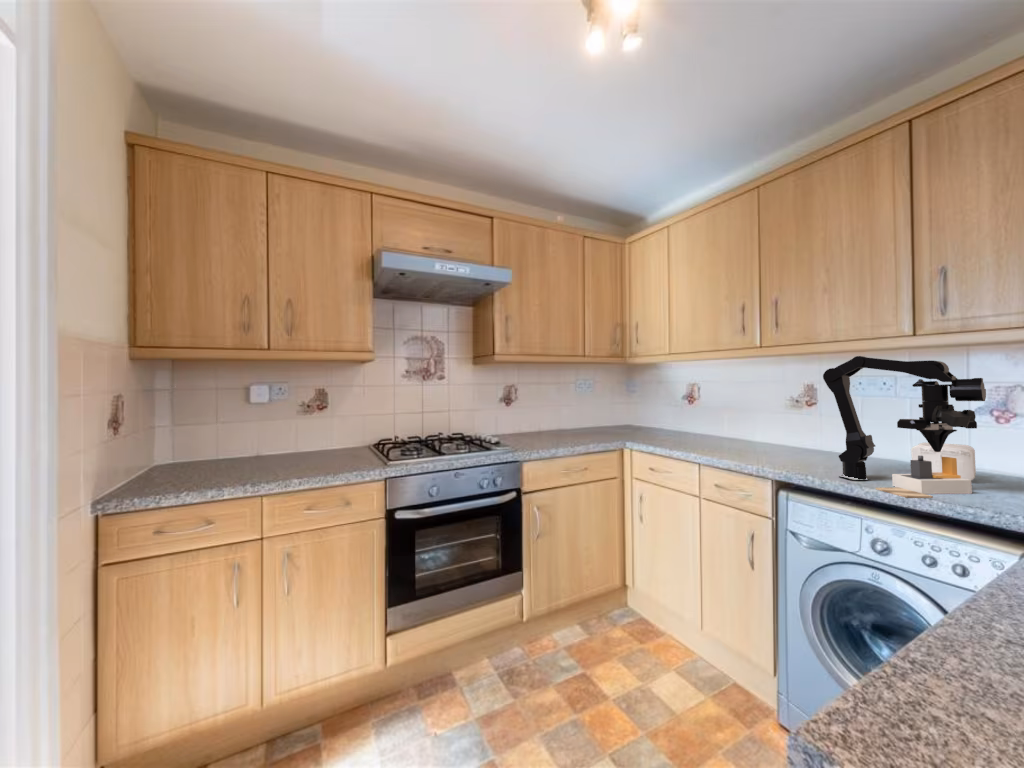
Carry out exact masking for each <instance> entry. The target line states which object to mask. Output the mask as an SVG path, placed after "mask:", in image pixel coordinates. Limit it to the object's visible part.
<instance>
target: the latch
mask: <svg viewBox="0 0 1024 768" xmlns="http://www.w3.org/2000/svg"><path fill="white" fill-rule="evenodd" d="M932 477H933V478H961V475H957V459H956V458H951V457H942V472H932Z"/></svg>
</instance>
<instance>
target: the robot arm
mask: <svg viewBox="0 0 1024 768" xmlns="http://www.w3.org/2000/svg"><path fill="white" fill-rule="evenodd" d="M863 369H870V370H871V369H873V370H881V371H890V372H897V373H898V372H899V373H904V374H909V375H912V376H915V377H920V378H921V379H920V378H919V379H918V380H917V381H916V382H915V383H913V384H912V387H913V388H915V387H921V404H918V408H922V416H920V417H918V419H917V418H899V419H898V421H897V422H896V423H897V424H896V426H897V427H896V428H899V429H906V430H908V429H909V430H916V431H919V432H920V434H921V435H922V436H923V437H924V438H925V440H926V442H927V443H929V444H930V446H931V447H932V449H933V450H934V451H935V452H940V451H941V449H942V447H943V445H944V444H946V443H945V442H946V441H947V439H948V437H949V436H950V435H951V434H952V433H954V432H957V431H958V429H955V428H965V429H978V423H977V421H976V413H975V412H976V411H974V410H972V409H963V410H956V409H955V406H954V404H949V402H950V401H949V398H952V399H954V400H955V402H985V401H986V399H987V389H986V388H985V383H984V378H983V377H974V378H973V377H972V378H958V377H956V376H955V375H954V374H952V373H951V372H950V368H949V365H947V364H946V362H943V361H941V360H911V361H909V360H908V361H905V360H895V359H887V358H886V359H885V358H877V357H876V358H875V357H867V356H865V355H864V356H861V355H858V356H854V357H853V358H852V359H851V358H850V359H849V360H848V361H846V362H844V363H841V364H839V365H838V366H836V367H831V368H828V369H826V370H825V371H824V373H823V374H822V378H823V381H824V383H825V384H826V386H827V388H828V389H829V391H831V392H832V393H833V396H834V399H835V402H836V405H837V408H838V411H839V414H840V417H841V420H842V421H841V422H842V423H843V426H844V430H845V435H846V436H845V449H846V450H844V451H842V452H841V453H839V454H838V458H839V460H840V462H842V475H843V474H844V475H845V476H848V477H854V478H858V479H866V478H867V467H866V461H867V460H868V458H869V457H870V456H871V455H872V454H873V453H874V452H875V448H874V447H876V444H874V440H873V436H872V435H871V434H868V435H866V433H865V432H864V431H863V429H862V425H861V422H860V420H859V417H858V416H859V415H858V414H857V411H856V408H855V405H854V402H853V399H852V396H851V393H850V387H851V380H850V377H852V376H854V375H855V374H857V373H858V372H859V371H861V370H863ZM922 378H923V379H927V380H928V381H925V380H923V379H922ZM935 380H936V381H935ZM938 381H939V382H942V383H944V384H939V382H938ZM945 383H948V384H945ZM949 383H951V384H949ZM949 396H950V397H949Z"/></svg>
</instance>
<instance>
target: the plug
mask: <svg viewBox="0 0 1024 768" xmlns="http://www.w3.org/2000/svg"><path fill="white" fill-rule="evenodd" d="M910 474H911V475H901V476H906V477H910V478H915V479H941V478H933V477H932V463H931V461H926V460H923V456H918V460H912V459H910Z"/></svg>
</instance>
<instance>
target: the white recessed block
mask: <svg viewBox="0 0 1024 768" xmlns="http://www.w3.org/2000/svg"><path fill="white" fill-rule="evenodd" d="M901 475H911V473H892V477H891V478H892V487H893V486H895V487H899V488H903V489H907V490H911V491H915V492H919V493H923V494H927V495H972V494H973V491H972V490H973V488H972V480H968V479H963V478H941V479H915V478H910V477H906V476H901Z"/></svg>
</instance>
